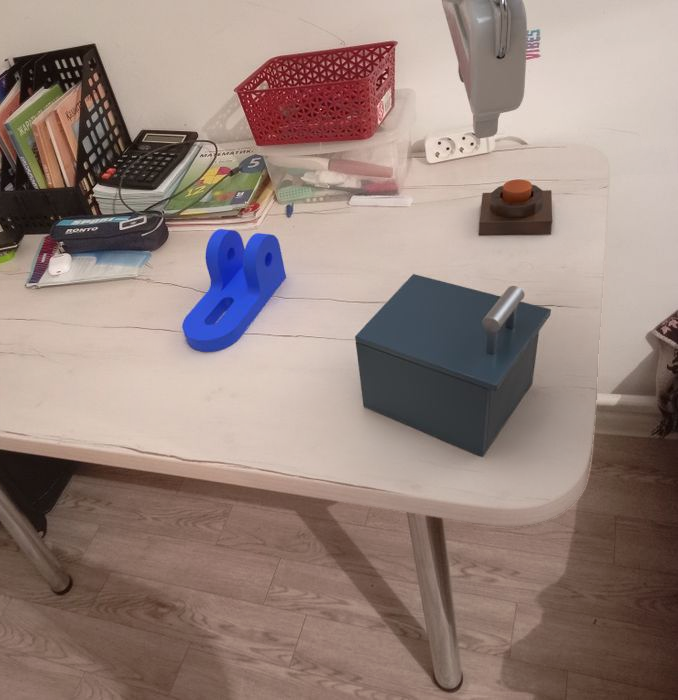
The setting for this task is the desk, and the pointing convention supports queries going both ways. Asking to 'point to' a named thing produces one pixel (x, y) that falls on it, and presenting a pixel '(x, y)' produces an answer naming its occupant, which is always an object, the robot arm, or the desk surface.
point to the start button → (517, 191)
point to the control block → (516, 214)
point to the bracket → (234, 288)
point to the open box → (442, 397)
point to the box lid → (456, 329)
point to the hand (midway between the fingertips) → (476, 104)
